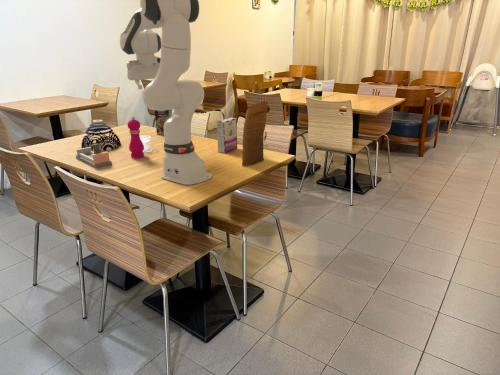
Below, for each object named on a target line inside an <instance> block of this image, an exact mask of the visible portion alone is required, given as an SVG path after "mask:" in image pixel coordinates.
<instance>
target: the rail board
mask: <svg viewBox="0 0 500 375" xmlns="http://www.w3.org/2000/svg"><path fill="white" fill-rule="evenodd" d="M86 147H87V146H86ZM76 153H77V154H75V158H76V159H77V160H79V161H81V162H83V163H85V164H87V165H89V166H91V167H93V168H94V169H98V168H102V167H106V166H110V165H113V162H112V160H111V159H110V155H109V152H108V151H101V153H97V154H94V151H92V149H91V146H90V147H87V148H82V147H81V148H77V149H76ZM92 154H93V158H92Z"/></svg>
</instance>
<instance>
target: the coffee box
mask: <svg viewBox="0 0 500 375" xmlns="http://www.w3.org/2000/svg"><path fill="white" fill-rule="evenodd" d="M172 115H173V109H172V110H164V111H159V110H154V116H155V128H156V135H162V136H163V135H164V123H165V122H166V120H168V119H169V118H170V117H171V116H172Z"/></svg>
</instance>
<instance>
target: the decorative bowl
mask: <svg viewBox="0 0 500 375" xmlns="http://www.w3.org/2000/svg"><path fill="white" fill-rule="evenodd" d="M89 126H90V127H88V128H87V129H86V131H85V134H86V135H84V136H83V137H82V140H81V149H82V148H87V147H91V149H92V151H93V144H96V143H98V144H100V151H101V152H108V148H109V151H110V150H111V151H112V150H114V149H115V150H116V149H117V148H119V146H120V147H121V146H122V142H121V140H120V138H119V136H118V135H117V134H116V133H115V132H114V130H113V129H112V127H111V126H109V125H107V123H106V122H104V120H103V119H93V120H92V123H91V124H89ZM107 134H108V135H107ZM93 152H94V151H93Z"/></svg>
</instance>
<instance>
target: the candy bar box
mask: <svg viewBox="0 0 500 375" xmlns="http://www.w3.org/2000/svg"><path fill="white" fill-rule="evenodd" d="M237 124H238V122H237V118H235V117H227V118H223V119H220V120H217V121H216V133H217V135H216V136H217V152H218V153H220V154H228V153H229V152H232V151H235V150H237V149H238V129H237V128H238V127H237V126H238V125H237Z"/></svg>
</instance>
